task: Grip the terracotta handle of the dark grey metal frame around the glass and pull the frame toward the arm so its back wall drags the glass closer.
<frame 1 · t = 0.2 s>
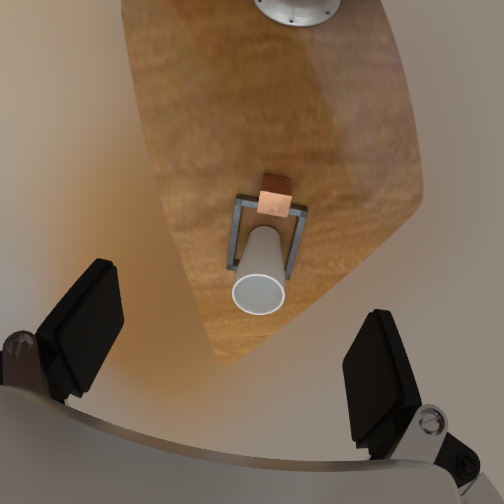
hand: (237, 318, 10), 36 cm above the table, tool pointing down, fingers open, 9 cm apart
drinking glass: (264, 238, 49), resting in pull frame
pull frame: (266, 237, 44), point 4 cm above the table, slide at 0.0 cm
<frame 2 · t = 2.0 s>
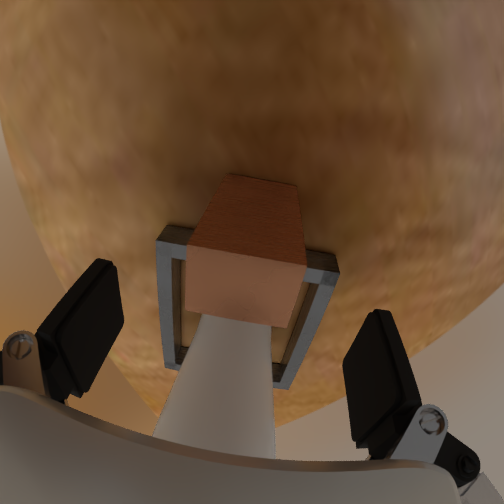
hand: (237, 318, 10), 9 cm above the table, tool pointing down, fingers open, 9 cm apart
drinking glass: (237, 315, 22), resting in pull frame
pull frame: (233, 335, 17), point 4 cm above the table, slide at 0.0 cm
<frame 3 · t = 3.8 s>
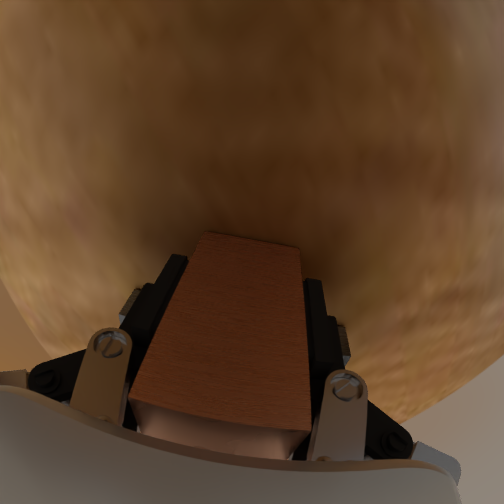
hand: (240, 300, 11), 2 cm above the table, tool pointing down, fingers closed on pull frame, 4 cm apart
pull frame: (219, 422, 13), point 4 cm above the table, slide at 0.0 cm, touching gripper
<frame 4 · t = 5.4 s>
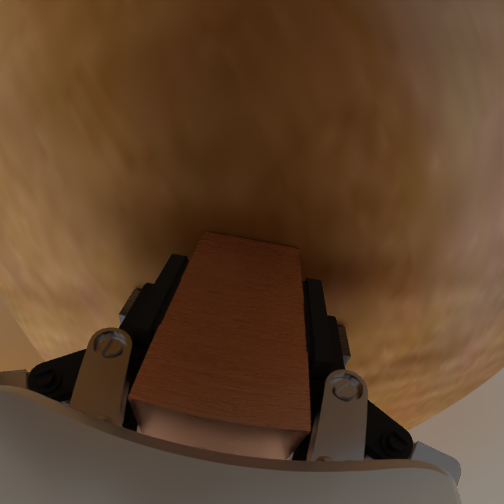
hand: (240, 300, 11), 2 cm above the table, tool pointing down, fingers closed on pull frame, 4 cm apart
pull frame: (219, 422, 13), point 4 cm above the table, slide at 5.2 cm, touching drinking glass, gripper
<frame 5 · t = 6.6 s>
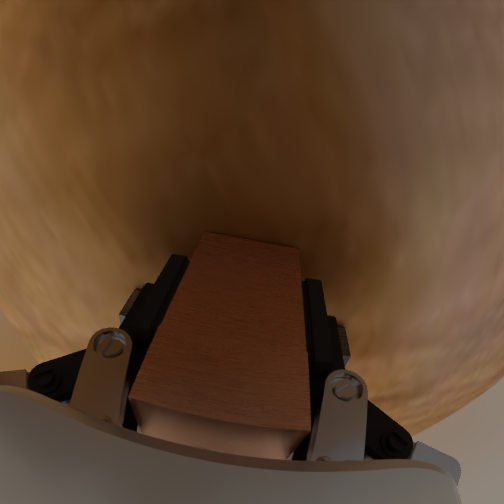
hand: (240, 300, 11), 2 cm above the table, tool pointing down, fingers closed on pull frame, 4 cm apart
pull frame: (219, 422, 13), point 4 cm above the table, slide at 9.9 cm, touching drinking glass, gripper
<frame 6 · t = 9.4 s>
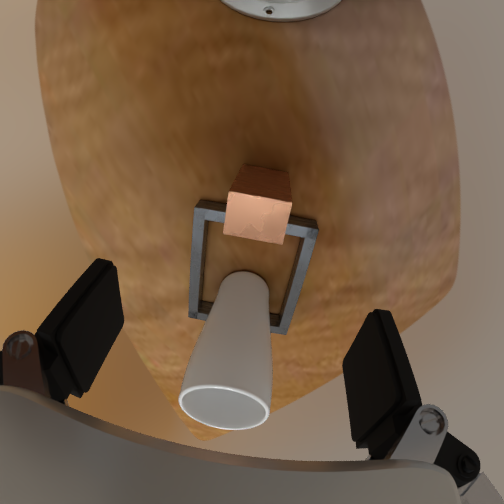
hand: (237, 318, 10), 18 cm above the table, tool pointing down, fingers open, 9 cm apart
drinking glass: (245, 288, 32), resting in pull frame
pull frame: (246, 273, 26), point 4 cm above the table, slide at 9.9 cm
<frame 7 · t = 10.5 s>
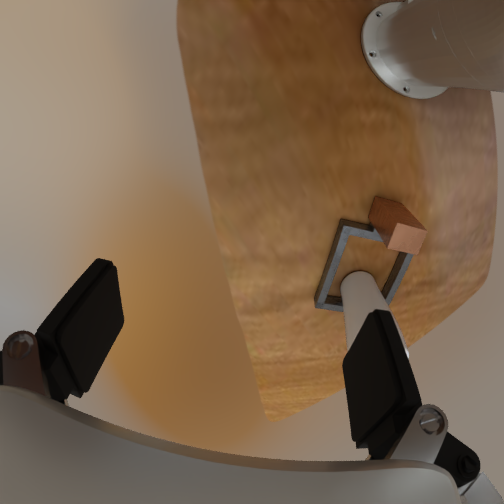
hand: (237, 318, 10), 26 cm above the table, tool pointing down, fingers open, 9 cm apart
drinking glass: (356, 283, 41), resting in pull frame
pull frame: (375, 273, 35), point 4 cm above the table, slide at 9.9 cm
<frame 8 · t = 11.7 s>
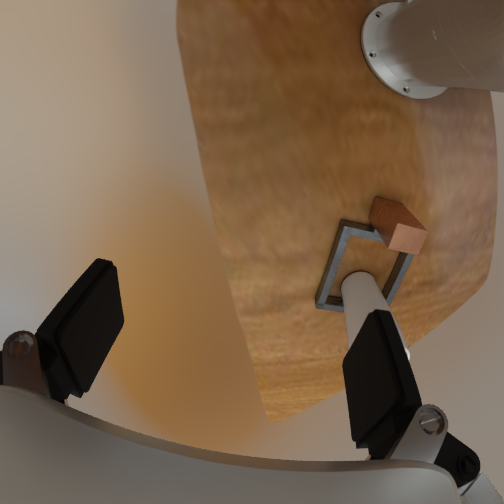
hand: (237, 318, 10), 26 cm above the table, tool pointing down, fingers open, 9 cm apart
drinking glass: (357, 284, 41), resting in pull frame
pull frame: (376, 273, 35), point 4 cm above the table, slide at 9.9 cm
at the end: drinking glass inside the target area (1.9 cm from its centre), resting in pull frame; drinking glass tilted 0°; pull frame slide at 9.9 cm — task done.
